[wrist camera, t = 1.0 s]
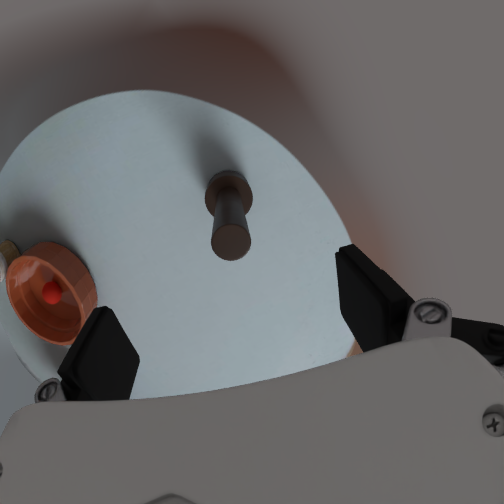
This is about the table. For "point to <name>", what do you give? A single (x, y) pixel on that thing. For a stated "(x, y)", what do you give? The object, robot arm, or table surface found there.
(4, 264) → the sprinkles bottle
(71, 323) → the bowl
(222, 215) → the brown wooden peg
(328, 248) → the table surface
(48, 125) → the table surface
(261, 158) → the table surface
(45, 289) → the berry
